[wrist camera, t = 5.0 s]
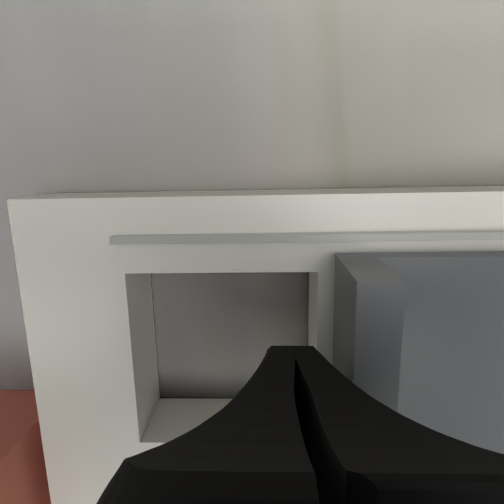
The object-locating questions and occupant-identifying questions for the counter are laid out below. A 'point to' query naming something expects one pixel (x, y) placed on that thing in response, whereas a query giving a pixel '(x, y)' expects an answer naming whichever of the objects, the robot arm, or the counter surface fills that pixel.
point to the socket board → (187, 261)
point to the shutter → (426, 337)
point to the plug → (21, 450)
